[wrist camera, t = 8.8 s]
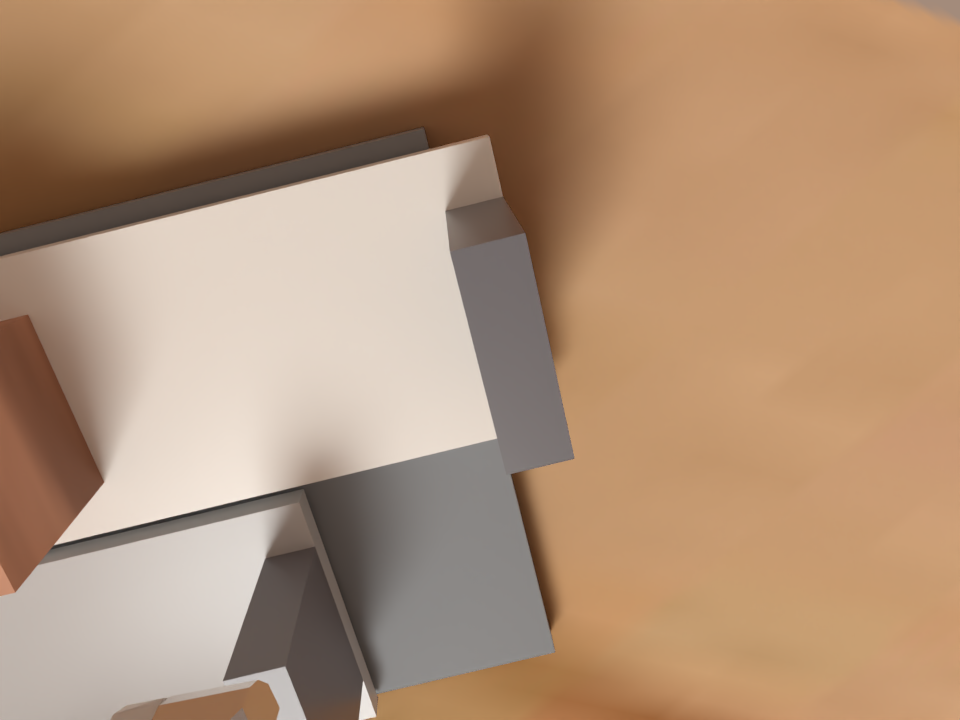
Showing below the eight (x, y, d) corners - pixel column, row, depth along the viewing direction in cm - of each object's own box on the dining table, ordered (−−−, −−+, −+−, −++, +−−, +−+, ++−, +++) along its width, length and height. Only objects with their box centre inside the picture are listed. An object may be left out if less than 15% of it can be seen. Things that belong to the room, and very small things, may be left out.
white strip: (487, 134, 20) (508, 154, 15) (550, 413, 23) (587, 517, 17) (-257, 320, 21) (-503, 407, 15) (-110, 572, 23) (-274, 722, 18)
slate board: (423, 126, 21) (423, 129, 20) (550, 632, 27) (555, 652, 26) (-560, 373, 22) (-605, 386, 21) (-231, 815, 28) (-255, 841, 27)
